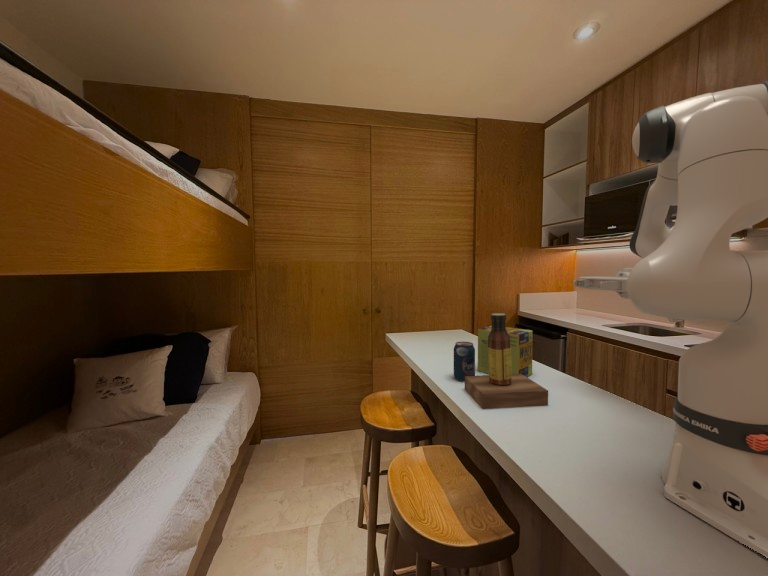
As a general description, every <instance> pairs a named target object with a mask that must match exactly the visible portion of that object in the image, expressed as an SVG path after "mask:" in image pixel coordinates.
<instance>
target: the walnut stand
mask: <svg viewBox="0 0 768 576" xmlns="http://www.w3.org/2000/svg"><path fill="white" fill-rule="evenodd" d="M464 390H465V391H466V393H468V394H469V395H470V397H471V398H472V399H473V400H474V401H475V402H476V404H478V405H479V407H480V408H482V409H483V410H485V409H486V410H487V409H506V408H522V407H523V408H524V407H540V406H541V407H542V406H548V405H549V389H546V388H545V387H543V386H541V385H540V384H538V383H536V382H535V381H534V380H532V379H530V378H529V377H526V376H524V375H522V374H512V378H511V384H509V385H496V384H493V383H492V382H490V378H489V374H487V375H485V374H484V375H483V374H482V375H475V376H465V382H464Z"/></svg>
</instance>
